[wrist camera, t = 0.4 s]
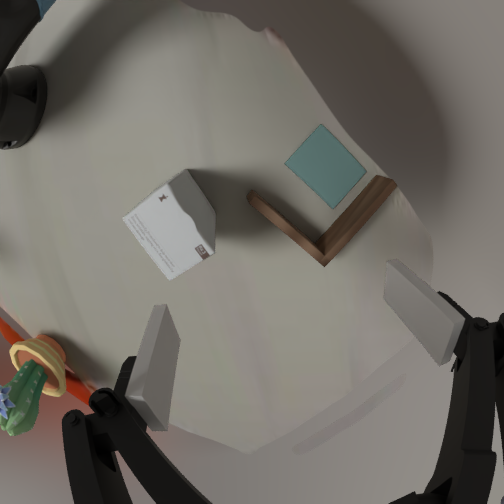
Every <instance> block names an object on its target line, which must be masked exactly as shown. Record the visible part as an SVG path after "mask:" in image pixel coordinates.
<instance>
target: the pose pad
mask: <svg viewBox="0 0 504 504" xmlns="http://www.w3.org/2000/svg"><path fill="white" fill-rule="evenodd" d="M285 165H286V166H288V167H289V168H290V169H291V170H292V171H293V172H294V173H295V174H296V175H298V176H299V177H300V178H301V179H302V180H303V181H304V182H305V183H306V184H307V185H308V186H309V187H310V188H311V189H313V190H314V191H315V192H316V193H317V194H318V195H319V196H320V197H321V198H322V199H323V200H324V201H325V202H326V203H327V204H328V205H329V206H330V207H331V208H332V209H334V207H335V206H336V205H337V204H338V203H339V202H340V201H341V200H342V199H343V197H344V196H345V195H346V194H347V193H348V192H349V191H350V190H351V188H352V187H353V186H354V185H355V184H356V183H357V182H358V181H359V179H360V178H361V177H362V176H363V175H364V174H365V173H366V171H365V169H364V168H363V167H362V166H361V165H360V164H359V163H358V162H357V160H356V159H355V158H354V157H353V156H352V155H351V154H350V153H349V152H348V151H347V150H346V149H345V148H344V147H343V145H342V144H341V143H340V142H339V141H338V140H337V139H336V138H335V137H334V136H333V135H332V134H331V133H330V132H329V131H328V130H327V129H326V128H325V127H324V126H323V125H322V124H320V126H319V127H318V128H317V129H316V130H315V131H314V132H313V133H312V134H311V135H310V136H309V137H308V138H307V140H306V141H305V142H304V143H303V144H302V145H301V146H300V147H299V148H298V149H297V150H296V152H295V153H294V154H293V155H292V156H291V157H290V158H289V159H288V160H287V161H286V163H285Z"/></svg>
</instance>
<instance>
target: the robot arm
mask: <svg viewBox="0 0 504 504" xmlns="http://www.w3.org/2000/svg"><path fill="white" fill-rule="evenodd" d="M55 1H56V0H0V149H4V150H6V149H13V148H17V147H19V146H21V145H23V144H24V143H25V142H26V141H27V140H28V139H29V138H30V137H31V136H32V134H33V133H34V132H35V130H36V128H37V126H38V124H39V122H40V120H41V118H42V115H43V112H44V108H45V104H46V97H47V86H46V80H45V77H44V75H43V73H42V72H41V71H40V70H39V69H37V68H35V67H32V66H28V65H21V66H16V67H12V68H9V69H6V68H7V66H8V64H9V63H10V61H11V60H12V58H13V57H14V55H15V53H16V52H17V50H18V49H19V48H20V46H21V45H22V43H23V42H24V40H25V39H26V38H27V36H28V35H29V34H30V32H31V31H32V30H33V28H34V27H35V26H36V25H37V23H38V22H40V21H41V20H42V19H43V17H44V15H45V13H46V12H47V11H48V10H49V8H50V7H51V6H52V5H53V4H54V3H55ZM384 300H385V301H386V302H387V304H388V305H389V306H390V307H391V308H392V309H393V311H394V312H395V313H396V314H397V315H398V316H399V318H400V319H401V320H402V321H403V322H404V323H405V325H406V326H407V327H408V328H409V329H410V331H411V332H412V333H413V334H414V335H415V337H416V338H417V339H418V340H419V342H420V343H421V344H422V345H423V346H424V348H425V349H426V350H427V352H428V353H429V354H430V355H431V357H432V358H433V359H434V360H435V362H436V363H437V364H438V365H439V366H441V365H443V364H445V363H447V362H449V361H450V359H451V357H452V354H453V352H454V353H455V355H456V356H457V357H456V360H455V362H454V364H453V367H452V369H451V372H453V369H454V378H453V388H452V395H451V402H450V408H449V414H448V419H447V424H446V429H445V434H444V438H443V442H442V446H441V451H440V454H439V458H438V461H437V465H436V468H435V471H434V474H433V476H432V478H431V480H430V482H429V483H428V485H427V487H426V489H425V491H424V493H423V494H416V493H415V491H414V492H412V493H410V494H408V495H406V496H404V497H402V498H399V499H397V500H395V501H393V502H390V503H389V504H487V501H488V497H489V494H490V490H491V485H492V481H493V476H494V471H495V466H496V456H497V455H496V453H495V452H493V451H492V449H491V448H492V439H493V429H494V417H495V402H496V407H497V412H498V418H499V424H500V432H501V439H502V449H503V462H504V313H502V314H501V315H500V317H499V320H498V322H493V323H489V322H488V321H487V320H485V319H484V318H480V317H476V318H472V317H471V316H470V315H469V314H468V313H467V312H466V311H465V310H464V309H463V308H461V307H460V306H459V305H457V303H456V302H455V301H453V300H452V299H451V298H450V297H449V296H448V295H446V294H444V293H442V292H440V291H439V292H436V291H435V290H433V289H432V288H431V287H430V286H429V285H428V284H427V283H425V282H424V281H423V280H422V279H421V278H419V277H418V276H417V275H416V274H415V273H414V272H412V271H411V270H410V269H409V268H408V267H406V266H405V265H404V264H403V263H401V262H400V261H399V260H398V259H394V260H390V261H387V264H386V278H385V289H384ZM180 341H181V340H180V338H179V335H178V333H177V330H176V328H175V325H174V322H173V320H172V317H171V315H170V312H169V309H168V306H167V304H162V305H155V306H154V308H153V311H152V313H151V316H150V319H149V322H148V325H147V328H146V330H145V333H144V336H143V339H142V342H141V345H140V348H139V351H138V354H137V356H130V357H128V358H127V359H126V360H125V362H124V363H123V365H122V367H121V370H120V373H119V376H118V379H117V382H116V385H115V388H114V391H113V390H112V389H110V388H101V389H98V390H96V391H95V392H94V393H92V395H91V396H90V398H89V406H90V408H91V409H92V410H93V411H94V412H95V413H93V414H89V415H84V414H83V413H82V412H81V411H80V410H77V409H75V410H71V411H69V412H67V413H66V414H65V415H64V417H63V419H62V432H63V442H64V451H65V458H66V465H67V471H68V476H69V482H70V486H71V491H72V495H73V500H74V504H133V503H132V500H131V498H130V495H129V493H128V490H127V488H126V485H125V482H124V479H123V476H122V473H121V471H120V467H119V464H118V461H117V458H116V455H115V451H117V450H118V451H119V453H120V454H121V456H122V457H123V459H124V460H125V462H126V463H127V465H128V466H129V468H130V469H131V471H132V472H133V474H134V475H135V476H136V478H137V479H138V481H139V482H140V483H141V485H142V486H143V487H144V489H145V490H146V491H147V493H148V494H149V495H150V496H151V497H152V499H153V500H154V501H155V502H156V504H212V503H211V502H210V501H209V500H208V499H207V498H206V497H205V496H204V495H202V494H201V493H200V492H199V491H198V490H197V489H196V488H195V487H194V486H193V485H192V484H191V483H190V482H189V481H188V480H187V479H186V478H185V477H184V476H183V475H182V473H180V471H179V470H178V469H177V468H176V467H175V466H174V465H173V464H172V463H171V461H169V459H168V458H167V457H166V456H165V455H164V453H163V452H162V451H161V450H160V449H159V447H158V446H157V445H156V444H155V443H154V441H153V440H152V439H151V438H150V436H149V435H148V434H147V433H146V428H147V425H148V427H149V428H150V429H151V430H152V431H167V430H168V422H169V414H170V406H171V399H172V391H173V385H174V378H175V371H176V365H177V359H178V353H179V347H180ZM501 504H504V496H503V497H502V499H501Z"/></svg>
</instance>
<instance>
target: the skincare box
mask: <svg viewBox="0 0 504 504" xmlns="http://www.w3.org/2000/svg"><path fill="white" fill-rule="evenodd" d="M123 220H124V222H125V223H126V225H127V226H128V227H129V229H130V230H131V232H132V233H133V234H134V236H135V237H136V238H137V240H138V241H139V242H140V244H141V245H142V247H143V248H144V249H145V251H146V252H147V253H148V254H149V256H150V257H151V258H152V260H153V261H154V262H155V263H156V265H157V266H158V267H159V268H160V270H161V271H162V272H163V273H164V275H165V276H166V277H167V278H168V280H172V279H174V278H175V277H177V276H178V275H180V274H182V273H183V272H185V271H186V270H188V269H190V268H191V267H193V266H194V265H196V264H198V263H199V262H201V261H203V260H204V259H206V258H208V257H210V256H211V255H213V254H215V228H216V213H215V211H214V209H213V208H212V206H211V204H210V203H209V201H208V200H207V198H206V197H205V195H204V194H203V192H202V191H201V189H200V188H199V186H198V185H197V183H196V182H195V180H194V179H193V178H192V176H191V175H190V173H189V171H188V170H187V169H184V170H183V171H181V172H180V173H178V174H177V175H175V176H174V177H172V178H171V179H169V180H168V181H166V182H165V183H164V184H162V185H161V186H159V187H158V188H156V189H155V190H154V191H153V192H151V193H150V194H149V195H148V196H147V197H145V198H144V199H143V200H142V201H140V202H139V203H138V204H137V205H136V206H135V207H134V208H132V209H131V210H130V211H129V212H128V213H127V214H126V215H125V216H124V217H123Z"/></svg>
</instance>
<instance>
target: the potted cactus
mask: <svg viewBox="0 0 504 504" xmlns="http://www.w3.org/2000/svg"><path fill="white" fill-rule="evenodd" d="M10 355H11V359H12V363H13V364H14V366H15V367H16V369H17V370H18V372H17V374H16V375H15V377H14V378H13V379H12V381H10V382H9V383H7V384H6V385H4V386H3V387H2V386H0V425H1V429H2V430H7V432H8V433H9V435H11V436H12V435H14V436H16V435H19V434H22V433H25V432H27V431H29V430H31V429H33V426H34V424H35V421H36V418H37V416H38V410H39V409H38V408H39V407H38V406H39V399H40V395H41V393H42V392H43V393H45V394H47V395H51V396H57V397H60V396H61V395H62V394H64V393H65V391H66V380H65V366H64V362H65V361H66V354H65V353H64V351H63V349H62V347H61V346H60V345H59V344H58V343H57V342H56V341H55V340H54V339H52V338H50V337H48V336H47V335H38V336H37V338H35V339H27V340H25V341H23V342H16V343H15V344H14V345H13V346H12V348H11V350H10Z"/></svg>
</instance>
